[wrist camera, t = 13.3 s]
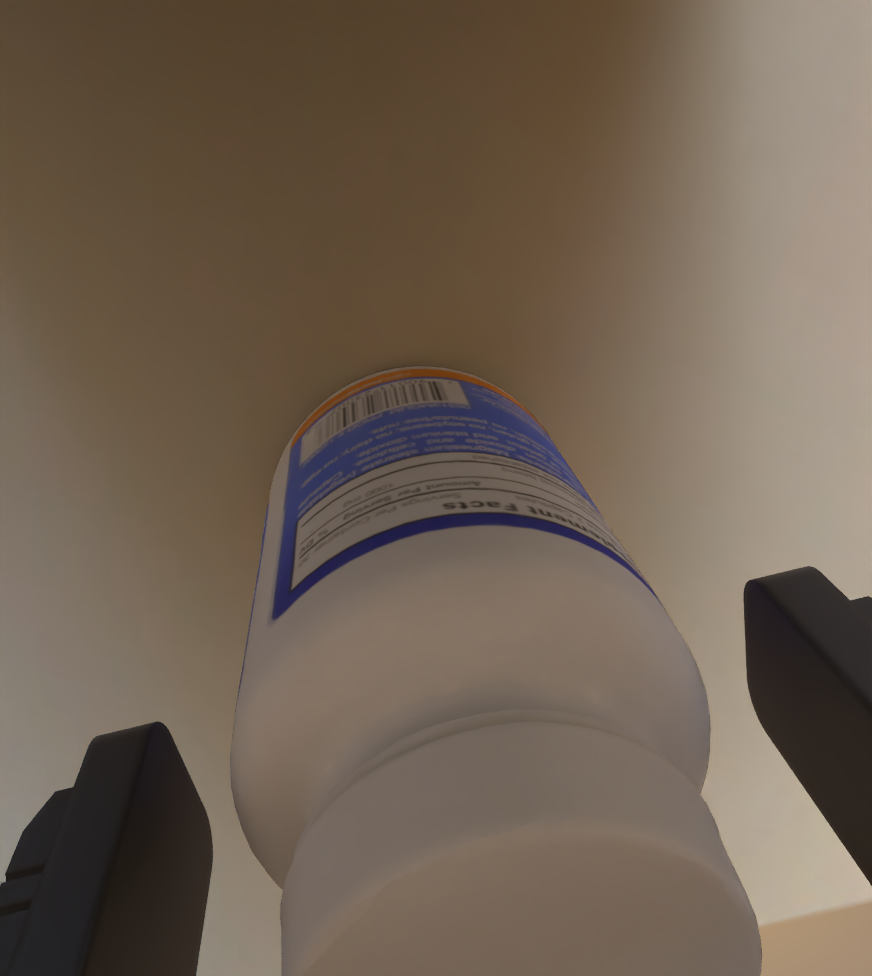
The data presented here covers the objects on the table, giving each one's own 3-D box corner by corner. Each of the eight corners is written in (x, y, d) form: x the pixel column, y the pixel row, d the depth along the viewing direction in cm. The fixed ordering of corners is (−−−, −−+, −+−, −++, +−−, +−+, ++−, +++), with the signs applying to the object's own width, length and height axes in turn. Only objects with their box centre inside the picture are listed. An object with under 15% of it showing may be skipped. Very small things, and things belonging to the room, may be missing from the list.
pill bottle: (485, 649, 17) (653, 1227, 8) (228, 575, 16) (108, 1182, 7) (608, 417, 15) (992, 853, 6) (329, 308, 14) (339, 682, 5)
